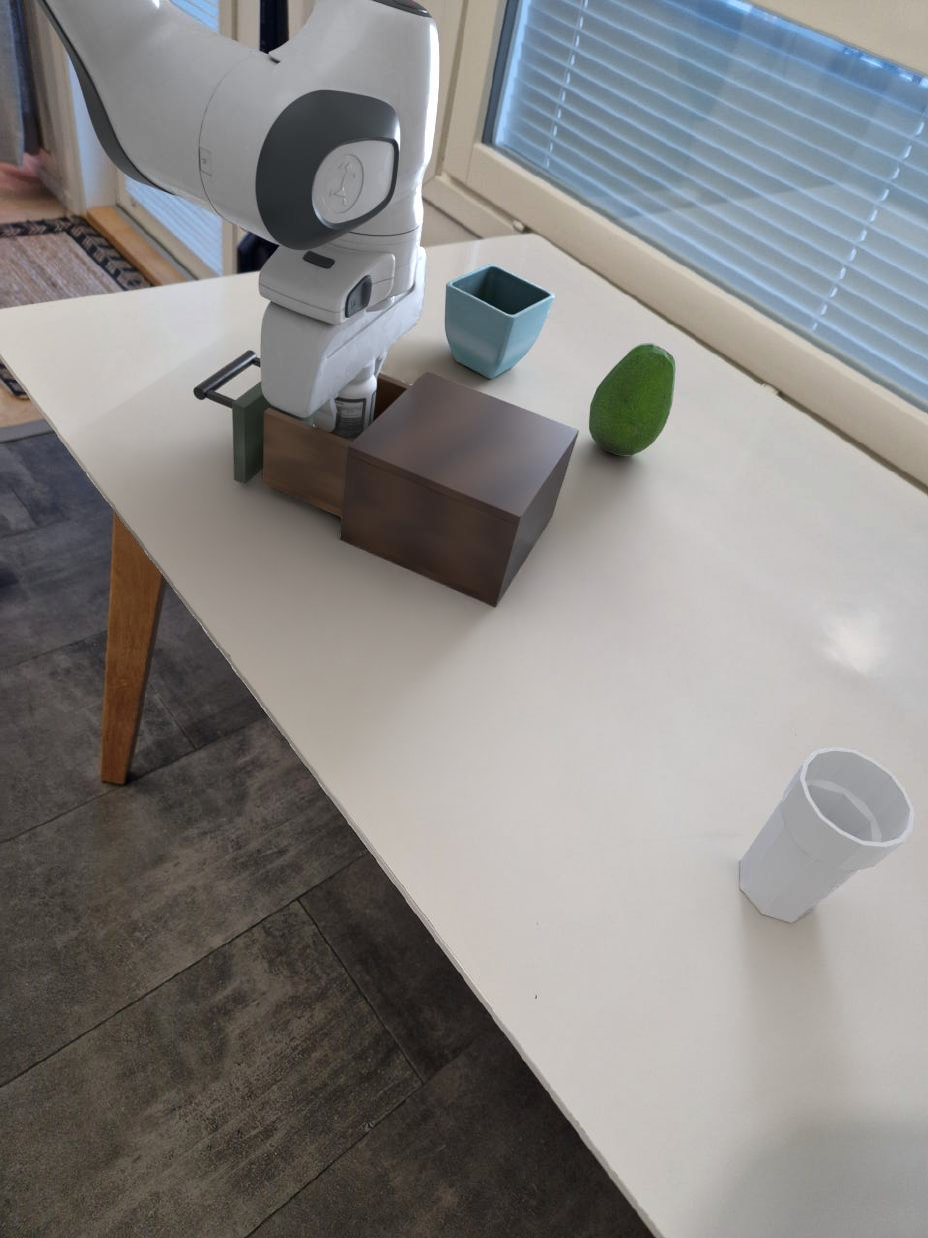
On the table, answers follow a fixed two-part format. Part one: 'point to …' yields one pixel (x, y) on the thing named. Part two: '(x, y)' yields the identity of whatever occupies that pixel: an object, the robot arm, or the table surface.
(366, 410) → the pill bottle
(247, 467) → the drawer
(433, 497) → the cabinet
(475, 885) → the table surface
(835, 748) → the cup
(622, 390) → the avocado
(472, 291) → the flower pot
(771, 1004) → the table surface
